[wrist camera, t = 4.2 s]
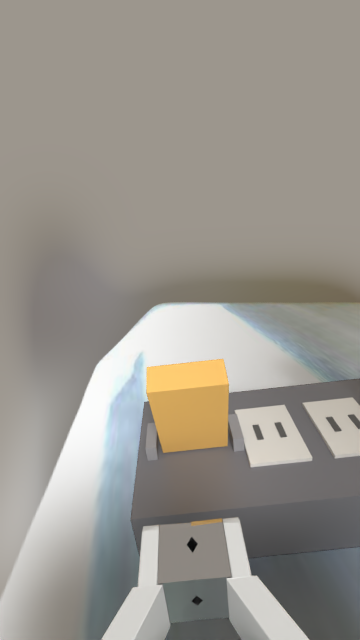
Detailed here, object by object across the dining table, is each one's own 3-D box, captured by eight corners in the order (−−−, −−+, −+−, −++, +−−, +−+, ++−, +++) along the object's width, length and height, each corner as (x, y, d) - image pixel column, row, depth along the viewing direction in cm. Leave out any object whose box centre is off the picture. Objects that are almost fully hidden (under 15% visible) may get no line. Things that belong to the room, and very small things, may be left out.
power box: (413, 413, 33) (424, 361, 31) (537, 528, 22) (569, 459, 19) (151, 441, 33) (142, 391, 31) (142, 568, 22) (127, 506, 20)
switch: (223, 422, 26) (223, 358, 21) (227, 446, 25) (228, 383, 19) (162, 429, 26) (146, 367, 21) (163, 452, 25) (146, 392, 19)
